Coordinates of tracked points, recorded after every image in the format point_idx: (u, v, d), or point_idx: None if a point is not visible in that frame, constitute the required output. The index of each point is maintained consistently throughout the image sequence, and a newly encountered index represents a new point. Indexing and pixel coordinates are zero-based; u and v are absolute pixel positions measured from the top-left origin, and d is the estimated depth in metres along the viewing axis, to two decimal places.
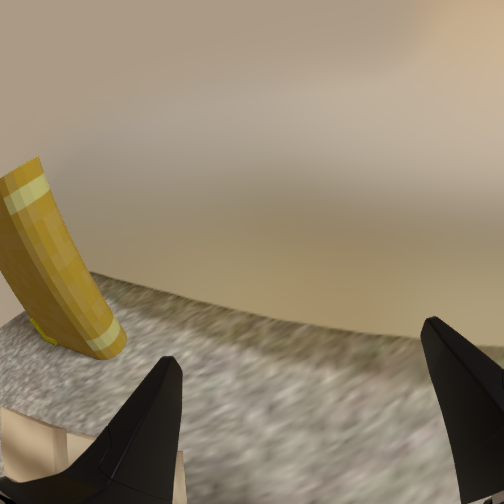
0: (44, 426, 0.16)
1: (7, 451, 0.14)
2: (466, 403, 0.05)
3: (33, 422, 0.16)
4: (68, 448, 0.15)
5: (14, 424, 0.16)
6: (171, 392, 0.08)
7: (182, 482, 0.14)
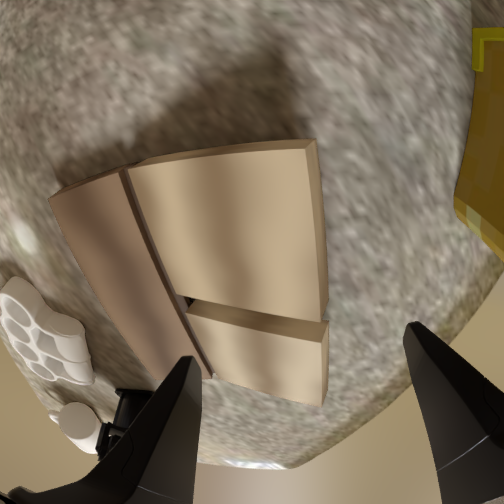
0: (318, 307, 0.15)
1: (209, 182, 0.14)
2: (446, 412, 0.06)
3: (316, 283, 0.15)
4: (300, 341, 0.18)
5: (286, 219, 0.13)
6: (192, 392, 0.08)
7: None
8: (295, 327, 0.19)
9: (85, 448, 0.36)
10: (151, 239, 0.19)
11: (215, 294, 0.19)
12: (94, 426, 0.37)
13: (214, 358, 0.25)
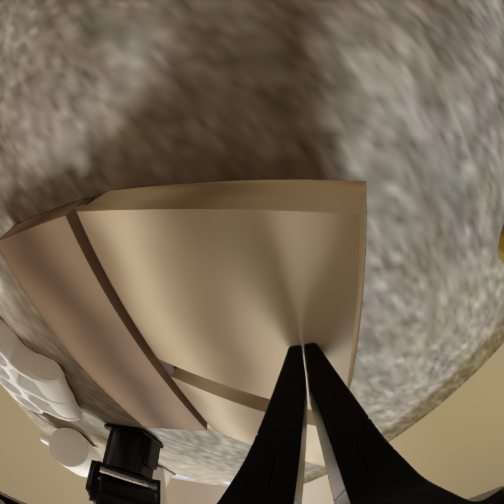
0: None
1: (184, 248, 0.09)
2: (325, 445, 0.06)
3: None
4: (312, 426, 0.13)
5: (311, 316, 0.08)
6: None
7: None
8: None
9: (78, 473, 0.31)
10: None
11: (205, 371, 0.14)
12: (86, 453, 0.31)
13: (208, 417, 0.20)
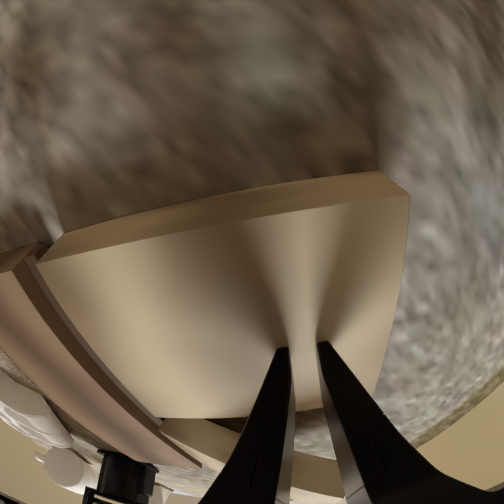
0: (373, 384, 0.11)
1: (217, 273, 0.07)
2: (340, 442, 0.06)
3: (379, 364, 0.10)
4: (314, 493, 0.09)
5: (360, 304, 0.08)
6: (293, 385, 0.08)
7: None
8: (309, 474, 0.10)
9: (74, 491, 0.27)
10: (91, 355, 0.11)
11: (221, 411, 0.12)
12: (81, 474, 0.28)
13: (202, 461, 0.16)
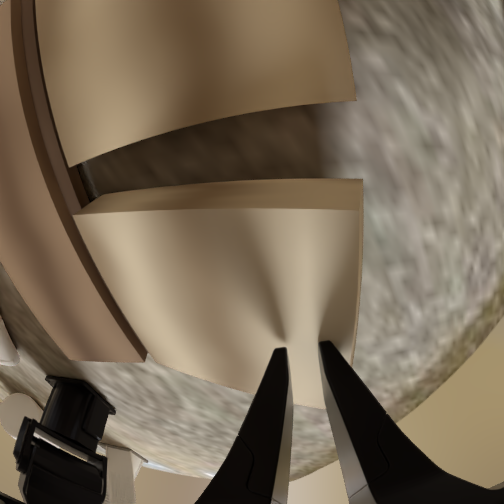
0: (348, 67, 0.08)
1: None
2: (343, 442, 0.06)
3: (338, 20, 0.07)
4: (297, 216, 0.06)
5: None
6: (290, 386, 0.08)
7: None
8: (281, 193, 0.07)
9: None
10: (32, 83, 0.08)
11: (145, 115, 0.08)
12: None
13: (135, 319, 0.13)
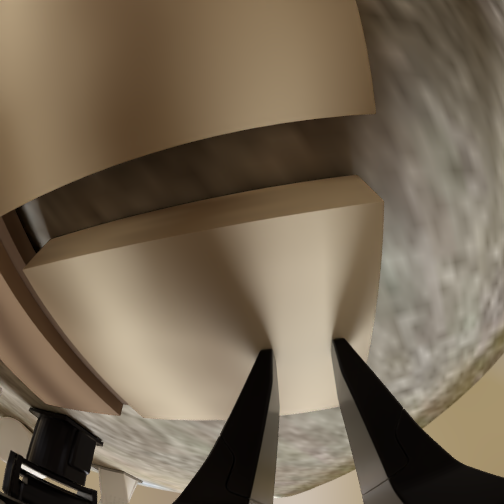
0: (363, 62, 0.05)
1: None
2: (359, 439, 0.06)
3: None
4: (328, 217, 0.06)
5: None
6: (276, 387, 0.08)
7: None
8: (293, 198, 0.07)
9: None
10: None
11: (67, 149, 0.05)
12: (27, 449, 0.21)
13: (116, 377, 0.10)
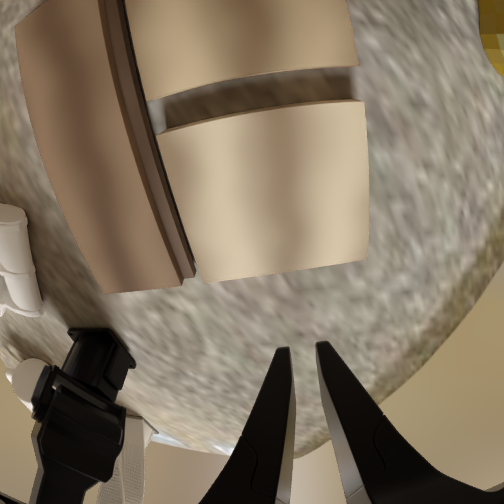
0: (353, 44, 0.11)
1: None
2: (340, 442, 0.06)
3: (346, 14, 0.10)
4: (339, 106, 0.12)
5: None
6: (293, 385, 0.08)
7: None
8: (322, 102, 0.13)
9: None
10: (113, 40, 0.11)
11: (215, 66, 0.12)
12: None
13: (199, 227, 0.17)
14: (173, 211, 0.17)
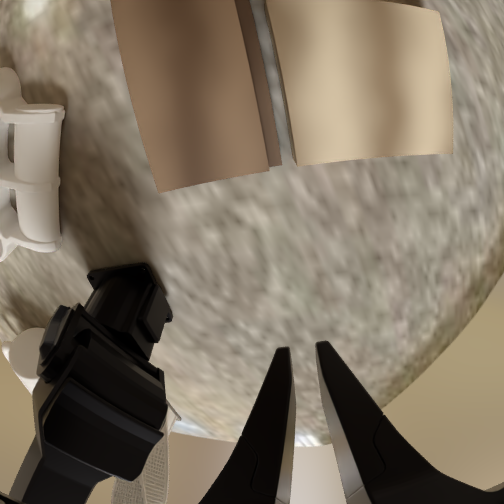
0: None
1: None
2: (340, 443, 0.06)
3: None
4: (422, 10, 0.09)
5: None
6: (293, 385, 0.08)
7: None
8: None
9: None
10: None
11: None
12: None
13: (302, 94, 0.13)
14: None
